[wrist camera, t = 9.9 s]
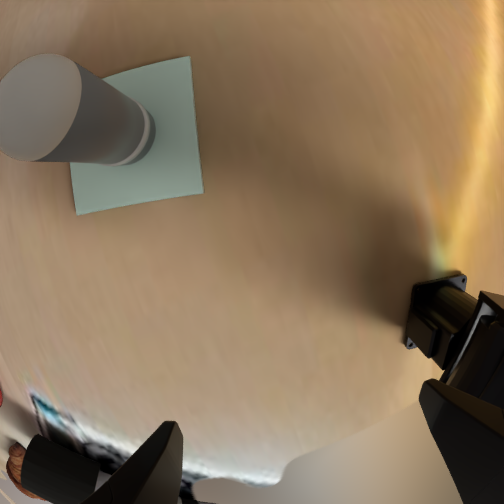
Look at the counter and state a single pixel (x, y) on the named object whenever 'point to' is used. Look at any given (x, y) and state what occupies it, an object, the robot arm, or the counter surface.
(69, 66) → the cylinder
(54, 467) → the striped bottle
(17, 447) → the pastry
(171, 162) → the coaster
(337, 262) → the counter surface
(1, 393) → the plant pot
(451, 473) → the robot arm
